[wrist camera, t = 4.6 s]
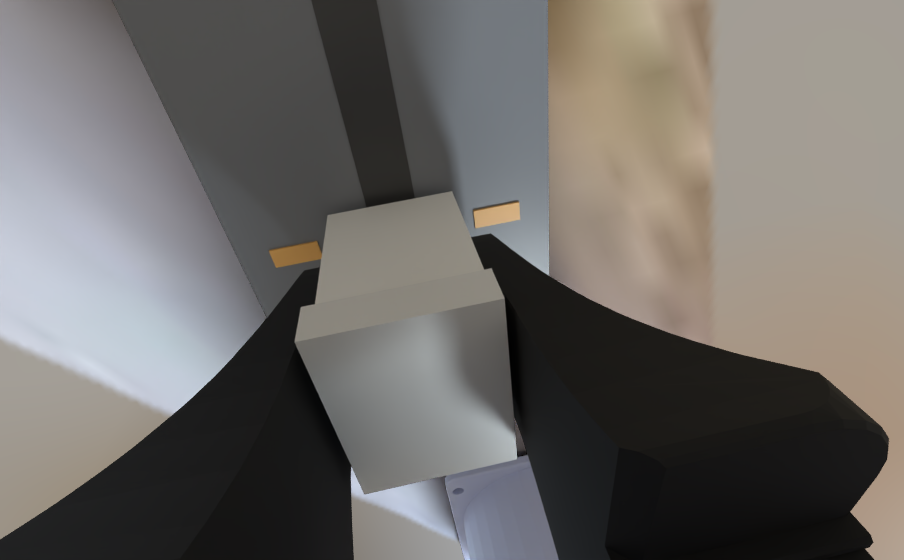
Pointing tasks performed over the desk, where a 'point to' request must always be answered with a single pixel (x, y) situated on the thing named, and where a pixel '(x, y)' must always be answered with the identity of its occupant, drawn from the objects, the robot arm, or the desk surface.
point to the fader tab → (409, 344)
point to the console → (353, 115)
